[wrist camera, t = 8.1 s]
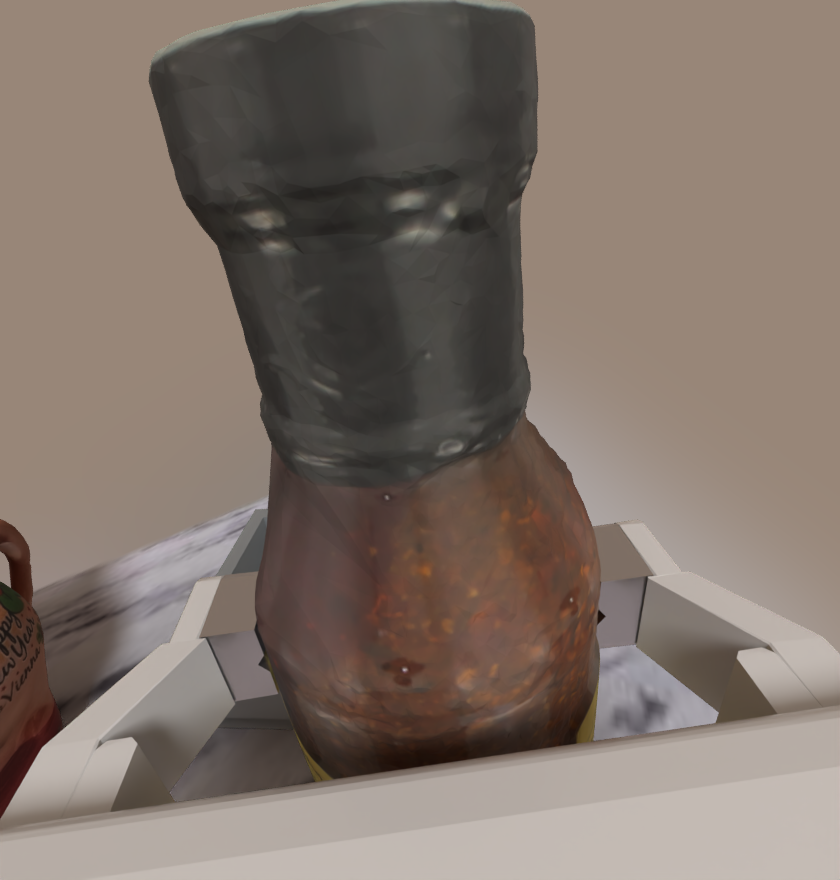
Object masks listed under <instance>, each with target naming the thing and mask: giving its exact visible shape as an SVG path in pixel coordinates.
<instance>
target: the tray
mask: <svg viewBox="0 0 840 880" xmlns="http://www.w3.org/2000/svg"><path fill="white" fill-rule="evenodd" d="M267 515H268V509H259V510H255V511H254V513H253V515H252V516H251V518H250V520H249V521H248V523H247V525H246V526H245V528H244V530H243V531H242V533H241V535H240V536H239V538H238V540H237V542H236V543H235V545H234V547H233V548H232V550H231V552H230V553H229V555H228V557H227V558H226V560H225V562H224V563H223V565H222V567H221V568H220V570H219V572H218V573H217V575H216V576H225V575H229V574H238V573H247V572H257V571H259V567H260V564H261V560H262V554H263V549H264V543H265V535H266V528H267ZM234 702H235V705H234V706H233V708H232V709H231V710H230V712H229V713H228V714H227V716H226V717H225V718H224V720H223V721H222V722H221V724H220V725H219V726H218V728H252V729H294V728H293V726H292V723H291V721H290V718H289V715H288V713H287V710H286V708H285V705H284V702H283V699H282V696H281V693H280V690H279V693H278V694H275V695H269V696H263V697H257V698H251V699H246V700H240V701H234Z"/></svg>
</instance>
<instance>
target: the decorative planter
mask: <svg viewBox="0 0 840 880" xmlns="http://www.w3.org/2000/svg"><path fill="white" fill-rule="evenodd" d="M0 551H1V552H2V553H4V554H5V556H6V558H7V560H8V562H9V569H10V580H11V588H10V587H8V586H7V585H5V584H4V583H2V582H0V819H1V817H2V816H3V814H4V812H5V810H6V809H7V807H8V805H9V804H10V802H11V800H12V798H13V797H14V795H15V793H16V791H17V790H18V788H19V786H20V785H21V783H22V781H23V779H24V778H25V776H26V774H27V773H28V771H29V769H30V767H31V766H32V764H33V762H34V760H35V759H36V757H37V755H38V754H39V752H40V750H41V748H42V747H43V746H44V745H45V744H47V743H48V742H49V741H50V740H51V739H52V738H54V737H55V736H56V735H57V734H58V733H59V732H61V731H62V730H63V726H62V719H61V715H60V712H59V709H58V707H57V705H56V702H55V699H54V697H53V695H52V693H51V691H50V688H49V685H48V678H47V668H46V661H45V649H44V636H43V631H42V627H41V623H40V620H39V617H38V615H37V613H36V611H35V610H34V609H33V607H32V597H33V586H32V578H31V565H30V550H29V546H28V544H27V543H26V541H25V539H24V538H23V536H22V535H21V534H20V533H19V532H18V530H17V529H16V528H15V527H14V526H12V525H11V524H9V523H7V522H6V521H4V520H1V519H0Z"/></svg>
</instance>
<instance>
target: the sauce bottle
mask: <svg viewBox="0 0 840 880" xmlns="http://www.w3.org/2000/svg"><path fill="white" fill-rule="evenodd" d="M534 27H535V26H534V24H533V21H532V19H531V17H530V15H529V14H528V13H527V12H526V11H525V10H524V9H523V8H521V7H519V6H517V5H515V4H514V3H512V2H505V1H496V0H338V1H332V2H327V3H321V4H316V5H311V6H305V7H299V8H294V9H289V10H283V11H278V12H272V13H267V14H263V15H259V16H255V17H251V18H247V19H243V20H239V21H235V22H231V23H227V24H223V25H219V26H215V27H211V28H207V29H203V30H199V31H195V32H193V33H191V34H188V35H186V36H184V37H181V38H179V39H178V40H176V41H174V42H173V43H171V44H170V45H168V46H167V47H165V48H163V49H161V50H159V51H157V52H156V54H155V55H154V57H153V59H152V62H151V65H150V73H149V84H150V87H151V90H152V94H153V97H154V100H155V103H156V107H157V110H158V113H159V117H160V121H161V124H162V128H163V132H164V136H165V139H166V143H167V147H168V152H169V156H170V159H171V162H172V164H173V167H174V171H175V176H176V180H177V183H178V186H179V189H180V191H181V194H182V197H183V199H184V201H185V203H186V205H187V206H188V207H189V209H190V210H191V211H192V213H193V215H194V216H195V218H196V220H197V221H198V223H199V224H200V225H201V227H202V228H203V229H204V230H205V232H206V233H207V234H208V235H209V236H210V237H211V239H212V240H213V241H214V242H215V243H216V245H217V246H218V250H219V253H220V256H221V259H222V262H223V265H224V268H225V271H226V275H227V278H228V282H229V285H230V288H231V292H232V296H233V299H234V302H235V305H236V308H237V312H238V315H239V318H240V321H241V324H242V327H243V331H244V335H245V340H246V344H247V346H248V350H249V353H250V356H251V359H252V362H253V364H254V368H255V375H256V379H257V382H258V385H259V387H260V390H261V392H262V398H261V402H260V408H261V414H260V416H261V418H262V421H263V423H264V426H265V428H266V431H267V434H268V437H269V439H270V441H271V445H272V452H271V469H270V486H269V487H270V488H269V501H268V515H267V528H266V535H265V543H264V549H263V554H262V560H261V564H260V567H259V571H258V575H257V579H256V587H255V613H256V619H257V625H258V630H259V633H260V635H261V638H262V641H263V643H264V646H265V649H266V652H267V655H268V658H269V661H270V664H271V667H272V670H273V673H274V676H275V679H276V681H277V684H278V687H279V690H280V693H281V696H282V699H283V702H284V705H285V708H286V710H287V713H288V715H289V718H290V721H291V723H292V726H293V728H294V731H295V734H296V736H297V739H298V741H299V744H300V746H301V749H302V751H303V753H304V756H305V758H306V761H307V763H308V766H309V768H310V771H311V773H312V775H313V778H314V780H315V782H319V781H326V780H333V779H340V778H347V777H353V776H360V775H367V774H374V773H381V772H388V771H395V770H402V769H409V768H415V767H422V766H429V765H436V764H443V763H449V762H456V761H463V760H470V759H476V758H483V757H490V756H497V755H503V754H510V753H517V752H524V751H530V750H537V749H544V748H551V747H558V746H564V745H571V744H578V743H585V742H592V741H593V738H594V728H595V718H596V706H597V694H598V682H599V667H600V652H599V643H598V639H597V637H596V633H597V618H598V610H599V598H600V579H601V566H600V559H599V554H598V548H597V542H596V537H595V533H594V529H593V527H592V524H591V521H590V519H589V517H588V514H587V511H586V508H585V506H584V503H583V501H582V499H581V497H580V495H579V493H578V491H577V489H576V487H575V485H574V483H573V478H572V474H571V472H570V471H569V470H568V469H567V466H566V463H565V462H564V461H563V460H561V459H560V458H559V456H558V455H557V453H556V452H555V451H554V450H553V449H552V448H551V447H549V445H548V444H547V442H546V441H545V439H544V438H543V437H541V436H540V434H539V432H538V430H537V428H536V427H535V426H534V425H533V424H532V423H531V422H529V421H528V420H527V418H526V413H525V409H526V407H527V406H526V404H527V400H528V396H529V393H530V390H531V384H530V372H529V369H528V364H527V360H526V357H525V356H524V355H523V348H524V335H523V330H522V329H523V285H522V271H521V236H520V209H521V199H522V193H523V191H524V189H525V186H526V184H527V182H528V180H529V179H530V175H531V169H532V165H533V162H534V159H535V157H536V154H537V102H538V76H537V63H536V46H535V28H534Z"/></svg>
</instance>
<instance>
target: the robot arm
mask: <svg viewBox="0 0 840 880" xmlns="http://www.w3.org/2000/svg"><path fill="white" fill-rule="evenodd" d="M593 529H594V533H595V537H596V542H597V548H598V554H599V559H600V566H601V579H600V598H599V610H598V618H597V633H596V637H597V639H598V643H599V649H601V648H610V647H619V646H628V645H636V647H637V648H639V649H640V650H641V651H642V652H644V653H645V654H646V655H647V656H649V657H650V658H651V659H652V660H654V661H655V662H656V663H657V664H659V665H660V666H661V667H662V668H664V669H665V670H666V671H667V672H669V673H670V674H671V675H673V676H674V677H675V678H676V679H678V680H679V681H680V682H681V683H683V684H684V685H685V686H686V687H688V688H689V689H690V690H691V691H693V692H694V693H695V694H696V695H698V696H699V697H700V698H701V699H703V700H704V701H705V702H706V703H708V704H709V705H710V706H711V707H713V708H714V709H715V710H716V711H718V712H719V714H718V717H717V720H716V723H714V724H707V725H701V726H694V727H687V728H680V729H673V730H667V731H660V732H653V733H646V734H639V735H633V736H626V737H619V738H612V739H605V740H598V741H592V742H585V743H578V744H571V745H564V746H558V747H551V748H544V749H537V750H530V751H524V752H517V753H510V754H503V755H497V756H490V757H483V758H476V759H470V760H463V761H456V762H449V763H443V764H436V765H429V766H422V767H415V768H409V769H402V770H395V771H388V772H381V773H374V774H367V775H360V776H353V777H347V778H340V779H333V780H326V781H319V782H312V783H305V784H298V785H291V786H285V787H278V788H271V789H264V790H257V791H250V792H243V793H236V794H229V795H223V796H216V797H209V798H202V799H195V800H189V801H182V802H175V801H174V800H173V798H172V796H171V795H170V793H169V792H170V791H171V789H172V788H173V787H174V785H175V784H176V783H177V781H178V780H179V779H180V777H181V776H182V775H183V773H184V772H185V771H186V769H187V768H188V767H189V765H190V764H191V762H192V761H193V760H194V758H195V757H196V756H197V754H198V753H199V752H200V750H201V749H202V748H203V746H204V745H205V744H206V742H207V741H208V740H209V738H210V737H211V736H212V734H213V733H214V732H215V730H216V729H217V728H218V726H219V725H220V724H221V722H222V721H223V720H224V718H225V717H226V716H227V714H228V713H229V712H230V710H231V709H232V708H233V706H234V705H235V702H234V701H240V700H246V699H251V698H257V697H263V696H269V695H275V694H278V693H279V687H278V684H277V681H276V679H275V676H274V673H273V670H272V667H271V664H270V661H269V658H268V655H267V652H266V649H265V646H264V643H263V641H262V638H261V635H260V633H259V630H258V625H257V619H256V613H255V587H256V579H257V575H258V571H257V572H247V573H238V574H229V575H225V576H216V577H207V578H201V579H199V580H198V581H197V582H196V583H195V585H194V587H193V590H192V592H191V594H190V596H189V599H188V601H187V603H186V606H185V608H184V610H183V612H182V615H181V617H180V619H179V621H178V624H177V626H176V628H175V631H174V633H173V635H172V637H171V640H170V642H169V643H165V644H161V645H160V646H159V647H158V648H156V649H155V650H154V651H153V652H152V653H151V654H149V655H148V656H147V657H146V658H145V659H144V660H143V661H141V662H140V663H139V664H138V665H137V666H136V667H134V668H133V669H132V670H131V671H130V672H129V673H128V674H126V675H125V676H124V677H123V678H122V679H121V680H119V681H118V682H117V683H116V684H115V685H114V686H112V687H111V688H110V689H109V690H108V691H107V692H106V693H104V694H103V695H102V696H101V697H100V698H99V699H97V700H96V701H95V702H94V703H93V704H92V705H91V706H89V707H88V708H87V709H86V710H85V711H84V712H82V713H81V714H80V715H79V716H78V717H77V718H76V719H74V720H73V721H72V722H71V723H70V724H69V725H67V726H66V727H65V728H64V729H63V730H62V731H61V732H59V733H58V734H57V735H56V736H55V737H54V738H52V739H51V740H50V741H49V742H48V743H47V744H45V745H44V746H43V747H42V748H41V750H40V752H39V754H38V755H37V757H36V759H35V760H34V762H33V764H32V766H31V767H30V769H29V771H28V773H27V774H26V776H25V778H24V779H23V781H22V783H21V785H20V786H19V788H18V790H17V791H16V793H15V795H14V797H13V798H12V800H11V802H10V804H9V805H8V807H7V809H6V810H5V812H4V814H3V816H2V817H1V819H0V880H840V654H839V653H838V652H837V651H836V650H835V649H834V648H833V647H832V646H831V645H830V644H829V643H828V642H827V641H826V640H825V638H823V637H822V636H820V635H818V634H816V633H814V632H812V631H809V630H808V629H806V628H804V627H802V626H799V625H797V624H796V623H793V622H791V621H789V620H787V619H785V618H783V617H781V616H779V615H777V614H775V613H773V612H771V611H769V610H767V609H765V608H763V607H761V606H759V605H757V604H755V603H753V602H751V601H749V600H747V599H745V598H743V597H741V596H739V595H737V594H735V593H733V592H730V591H729V590H727V589H725V588H722V587H720V586H718V585H716V584H714V583H712V582H710V581H708V580H706V579H704V578H702V577H700V576H698V575H696V574H694V573H692V572H690V571H688V572H682V571H681V570H680V568H679V567H678V566H677V565H676V563H675V562H674V561H673V560H672V558H671V557H670V556H669V555H668V553H667V552H666V551H665V550H664V548H663V547H662V546H661V545H660V543H659V542H658V541H657V540H656V538H655V537H654V536H653V534H652V533H651V532H650V531H649V529H648V528H647V527H646V526H645V524H644V523H643V522H642V521H640V520H638V519H637V520H631V521H624V522H618V523H614V524H607V525H600V526H593Z"/></svg>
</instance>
